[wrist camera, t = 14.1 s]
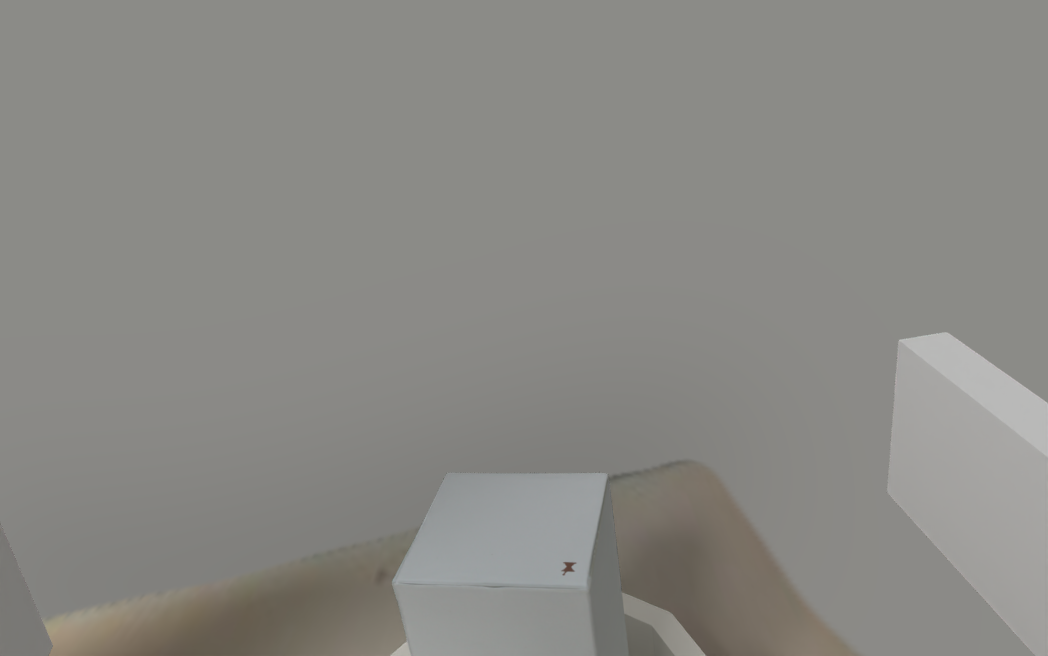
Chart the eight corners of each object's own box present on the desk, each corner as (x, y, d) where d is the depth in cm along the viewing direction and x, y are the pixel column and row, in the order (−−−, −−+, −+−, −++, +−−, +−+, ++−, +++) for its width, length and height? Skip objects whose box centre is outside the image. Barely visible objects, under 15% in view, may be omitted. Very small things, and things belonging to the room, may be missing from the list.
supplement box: (637, 697, 42) (616, 468, 37) (620, 844, 35) (591, 591, 30) (486, 685, 44) (445, 466, 39) (442, 823, 37) (386, 581, 32)
